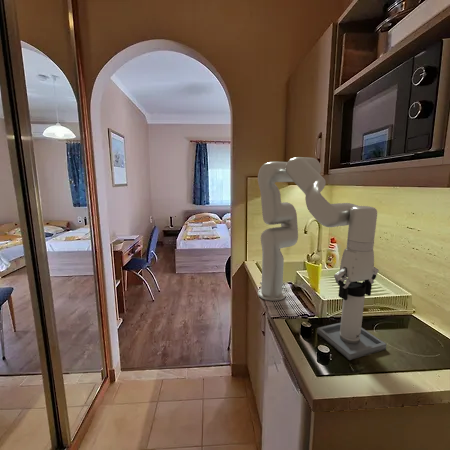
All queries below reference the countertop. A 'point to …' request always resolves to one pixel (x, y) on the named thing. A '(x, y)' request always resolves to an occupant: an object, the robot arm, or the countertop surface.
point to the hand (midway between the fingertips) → (354, 296)
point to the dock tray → (351, 351)
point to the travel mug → (353, 313)
